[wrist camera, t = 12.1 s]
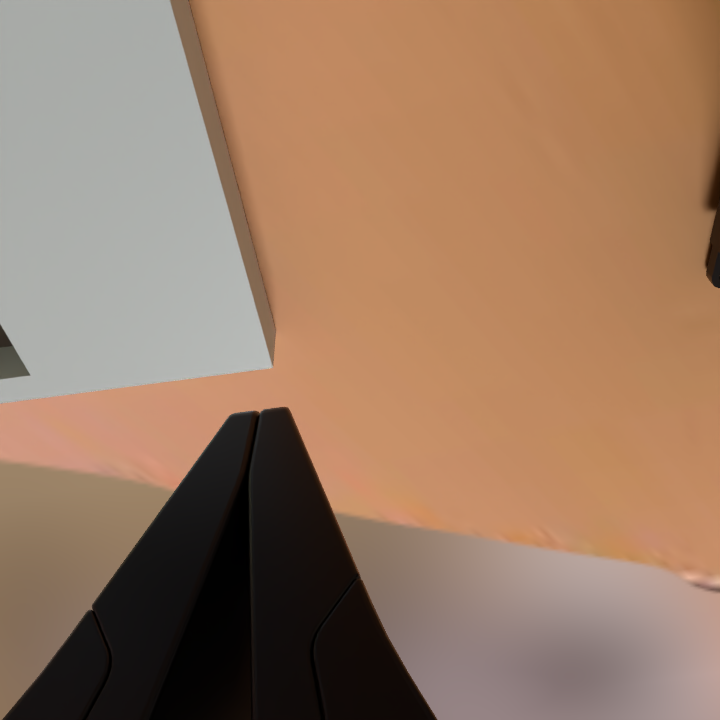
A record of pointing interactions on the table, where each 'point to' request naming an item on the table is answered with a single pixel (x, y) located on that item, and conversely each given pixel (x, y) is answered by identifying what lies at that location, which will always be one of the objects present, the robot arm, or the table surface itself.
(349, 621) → the robot arm
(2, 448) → the table surface
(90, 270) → the tray
